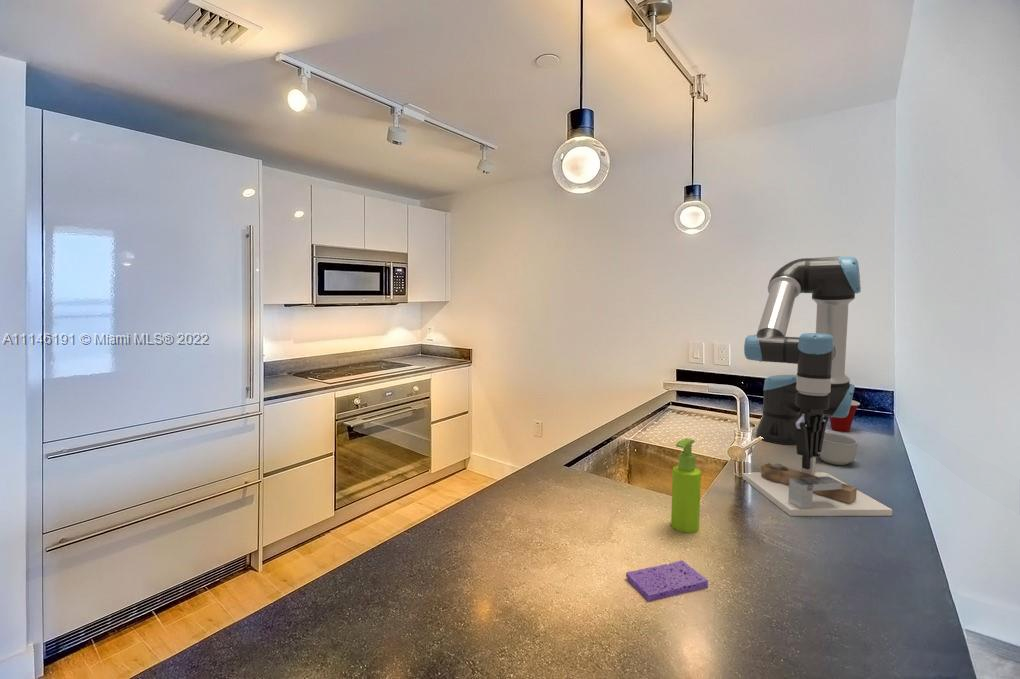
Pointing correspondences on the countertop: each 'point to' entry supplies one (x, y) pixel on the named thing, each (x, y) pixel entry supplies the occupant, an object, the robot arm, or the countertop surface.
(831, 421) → the plastic cup
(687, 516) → the soap dispenser
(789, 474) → the latch
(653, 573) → the sponges
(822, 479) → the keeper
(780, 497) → the base board
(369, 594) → the countertop surface
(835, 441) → the teacup
